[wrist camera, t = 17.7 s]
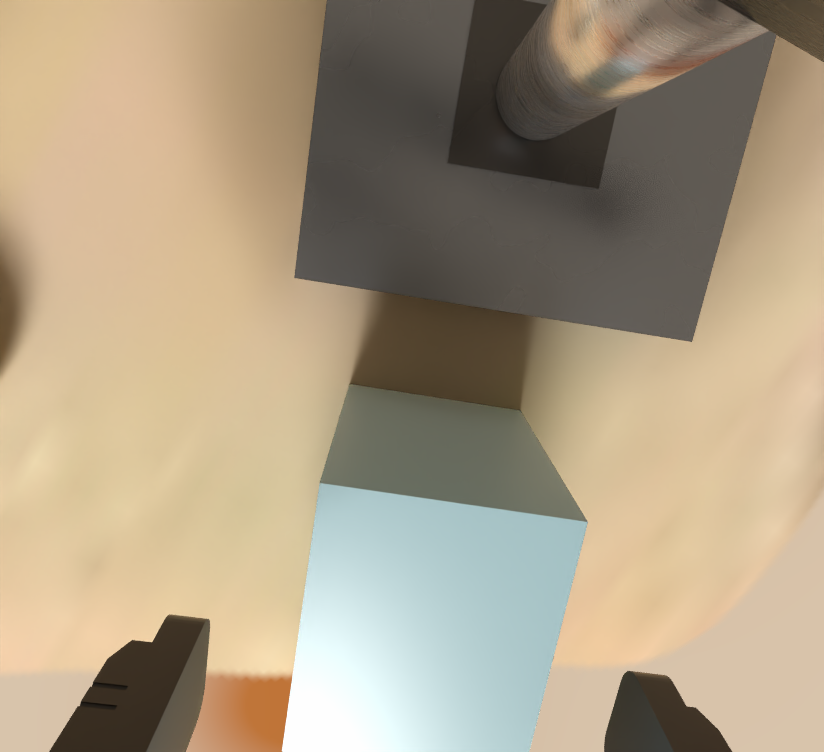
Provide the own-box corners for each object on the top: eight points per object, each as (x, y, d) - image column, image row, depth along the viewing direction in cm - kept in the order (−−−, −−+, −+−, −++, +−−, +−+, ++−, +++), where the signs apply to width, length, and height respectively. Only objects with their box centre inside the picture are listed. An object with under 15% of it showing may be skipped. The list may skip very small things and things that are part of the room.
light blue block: (314, 623, 20) (271, 829, 14) (349, 382, 18) (319, 483, 12) (469, 644, 21) (502, 856, 14) (519, 409, 19) (587, 522, 12)
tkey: (758, 260, 15) (1641, 380, 4) (275, 7, 14) (-205, -766, 3) (805, 182, 15) (1918, 98, 4) (312, -88, 13) (-85, -1420, 2)
